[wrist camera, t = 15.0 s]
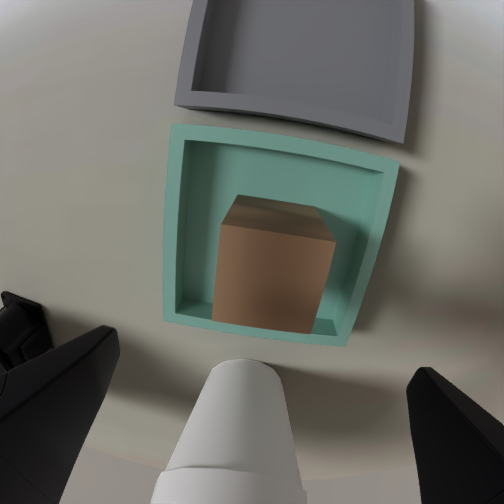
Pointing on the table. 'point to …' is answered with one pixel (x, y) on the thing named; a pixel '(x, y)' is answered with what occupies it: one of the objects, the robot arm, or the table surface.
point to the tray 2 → (277, 188)
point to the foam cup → (235, 443)
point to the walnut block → (271, 265)
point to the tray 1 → (302, 62)
